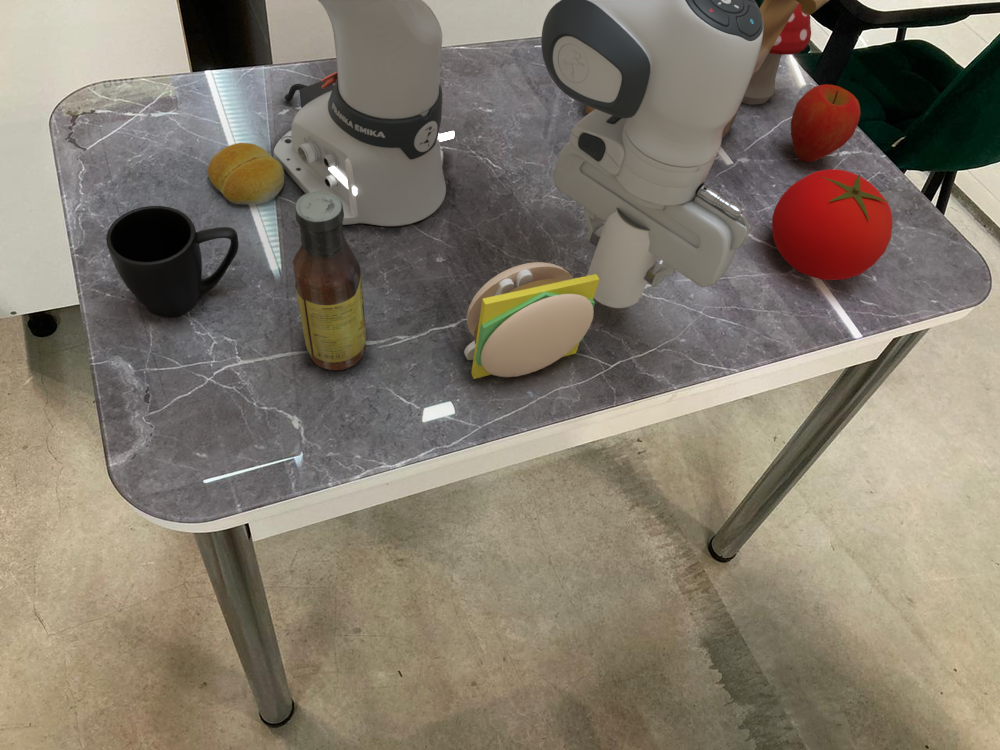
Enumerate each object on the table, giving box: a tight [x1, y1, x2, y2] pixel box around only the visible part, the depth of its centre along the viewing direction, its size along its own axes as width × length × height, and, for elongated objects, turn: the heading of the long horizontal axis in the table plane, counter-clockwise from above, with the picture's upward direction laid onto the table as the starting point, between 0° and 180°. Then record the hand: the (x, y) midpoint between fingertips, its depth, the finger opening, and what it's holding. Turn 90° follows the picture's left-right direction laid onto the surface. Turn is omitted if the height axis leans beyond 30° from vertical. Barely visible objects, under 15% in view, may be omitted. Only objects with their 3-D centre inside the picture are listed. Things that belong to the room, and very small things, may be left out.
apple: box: [790, 83, 861, 163], centre depth 109 cm, size 9×8×11 cm
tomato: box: [771, 168, 894, 281], centre depth 96 cm, size 13×14×12 cm
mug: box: [105, 205, 239, 319], centre depth 82 cm, size 8×12×10 cm
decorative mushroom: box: [741, 3, 812, 105], centre depth 115 cm, size 10×9×15 cm
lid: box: [753, 0, 830, 74], centre depth 95 cm, size 18×13×5 cm
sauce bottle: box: [292, 191, 367, 372], centre depth 76 cm, size 7×6×20 cm
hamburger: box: [463, 261, 600, 380], centre depth 82 cm, size 12×8×12 cm
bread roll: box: [207, 142, 285, 205], centre depth 95 cm, size 8×9×4 cm
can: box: [586, 208, 659, 309], centre depth 84 cm, size 6×6×12 cm
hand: (623, 260), depth 86 cm, fingers closed on can, 6 cm apart
